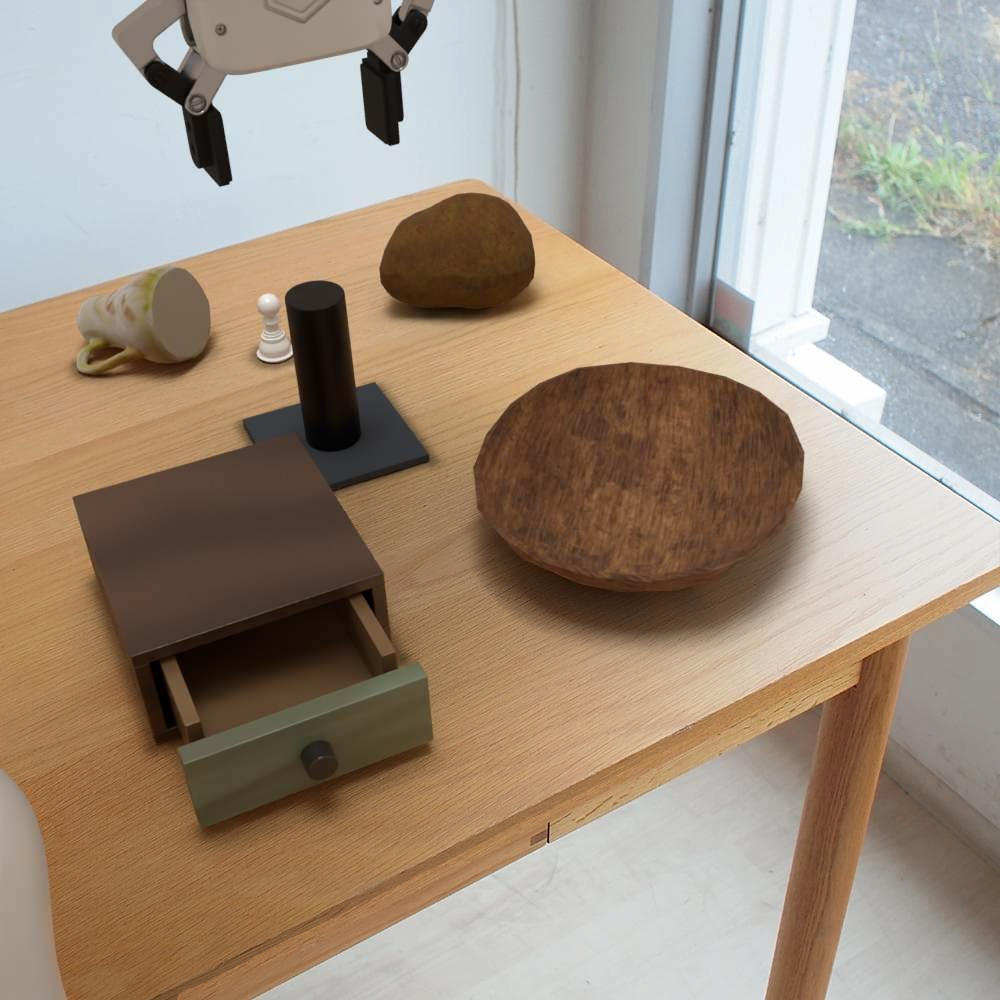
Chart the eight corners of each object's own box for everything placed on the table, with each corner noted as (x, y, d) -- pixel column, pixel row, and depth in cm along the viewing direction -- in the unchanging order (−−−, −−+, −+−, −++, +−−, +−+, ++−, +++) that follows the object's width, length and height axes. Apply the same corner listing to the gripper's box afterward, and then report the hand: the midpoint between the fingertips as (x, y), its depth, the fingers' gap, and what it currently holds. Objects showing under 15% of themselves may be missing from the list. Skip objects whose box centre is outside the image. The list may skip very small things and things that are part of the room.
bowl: (427, 605, 78) (421, 540, 75) (539, 402, 94) (538, 342, 91) (761, 676, 72) (770, 609, 69) (819, 448, 89) (828, 385, 86)
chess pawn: (250, 360, 99) (240, 302, 96) (267, 341, 102) (257, 284, 98) (284, 366, 99) (275, 308, 96) (300, 346, 101) (292, 289, 98)
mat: (288, 504, 86) (287, 497, 85) (243, 425, 93) (242, 418, 92) (430, 461, 89) (429, 453, 89) (375, 388, 96) (375, 381, 96)
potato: (395, 271, 110) (386, 172, 104) (538, 271, 109) (537, 172, 103) (382, 323, 103) (371, 221, 98) (534, 324, 102) (532, 221, 97)
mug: (104, 320, 105) (146, 218, 100) (197, 394, 104) (245, 295, 99) (39, 345, 99) (81, 238, 94) (137, 424, 98) (185, 320, 93)
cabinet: (394, 660, 74) (384, 572, 70) (156, 745, 70) (130, 657, 66) (308, 515, 85) (295, 431, 81) (97, 581, 80) (71, 496, 76)
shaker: (316, 458, 89) (295, 315, 82) (298, 429, 91) (276, 288, 84) (369, 442, 90) (353, 300, 83) (349, 414, 92) (332, 274, 86)
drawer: (443, 756, 68) (437, 691, 65) (207, 847, 64) (190, 782, 61) (343, 585, 78) (334, 522, 75) (136, 654, 74) (117, 590, 71)
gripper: (93, -152, 56) (168, 221, 66) (459, -203, 62) (474, 145, 72) (51, -182, 61) (127, 167, 71) (392, -226, 67) (416, 102, 78)
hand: (302, 156), depth 72 cm, fingers open, 9 cm apart
